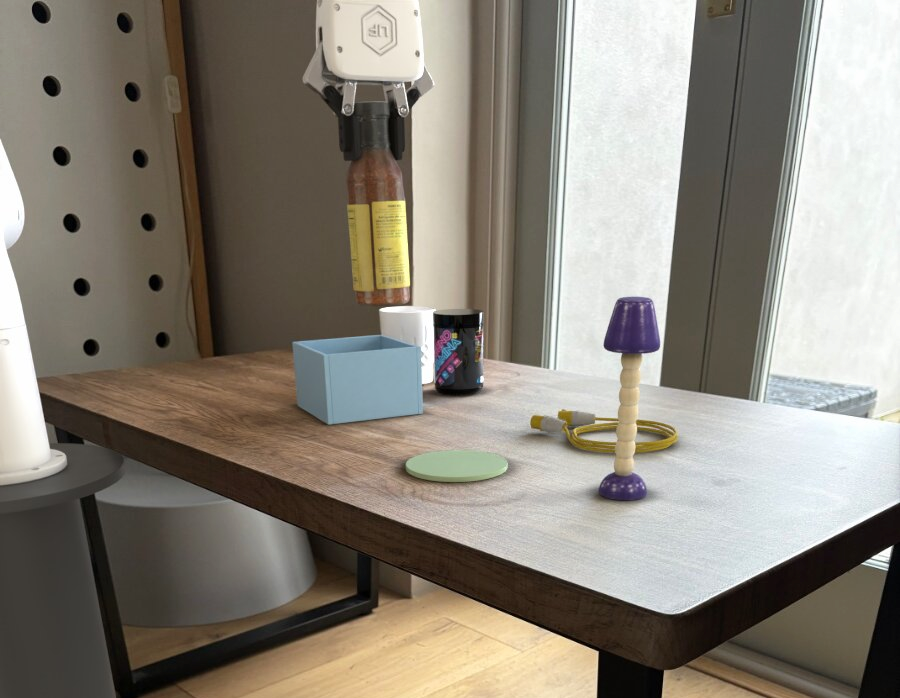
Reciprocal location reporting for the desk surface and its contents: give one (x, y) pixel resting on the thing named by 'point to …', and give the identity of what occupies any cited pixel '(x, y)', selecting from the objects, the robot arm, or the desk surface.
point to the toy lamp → (629, 388)
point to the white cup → (412, 331)
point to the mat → (456, 465)
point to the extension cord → (586, 418)
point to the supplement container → (458, 351)
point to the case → (358, 378)
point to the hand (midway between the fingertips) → (373, 158)
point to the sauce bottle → (377, 214)
